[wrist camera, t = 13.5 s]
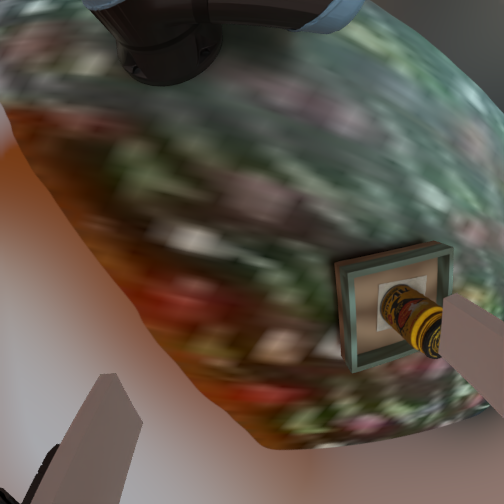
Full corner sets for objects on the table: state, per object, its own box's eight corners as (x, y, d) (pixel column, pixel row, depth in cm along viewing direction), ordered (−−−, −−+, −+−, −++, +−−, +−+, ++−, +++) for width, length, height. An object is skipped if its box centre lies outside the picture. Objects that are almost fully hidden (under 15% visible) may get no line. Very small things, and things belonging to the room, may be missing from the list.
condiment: (378, 284, 38) (425, 320, 26) (426, 275, 38) (478, 303, 27) (375, 331, 40) (416, 375, 28) (422, 319, 40) (467, 355, 28)
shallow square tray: (327, 257, 42) (347, 273, 34) (423, 237, 42) (453, 247, 34) (335, 346, 45) (351, 373, 37) (422, 319, 46) (447, 339, 38)
